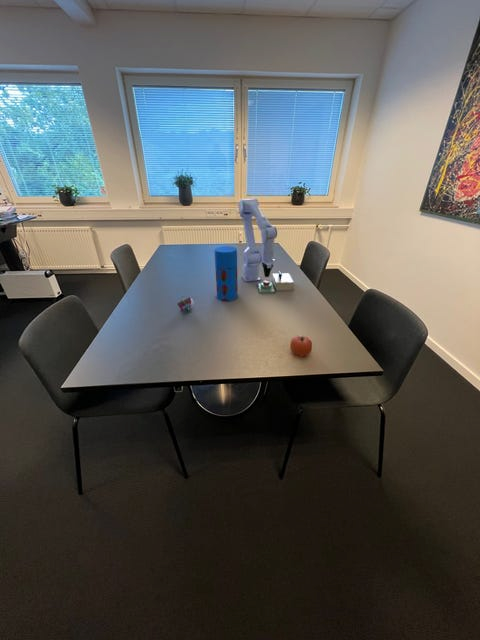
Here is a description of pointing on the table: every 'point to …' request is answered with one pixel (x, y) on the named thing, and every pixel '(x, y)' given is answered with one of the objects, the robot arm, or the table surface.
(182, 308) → the geometric puzzle
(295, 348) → the red apple
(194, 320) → the table surface
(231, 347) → the table surface
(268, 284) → the button
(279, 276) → the lid
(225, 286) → the thermos
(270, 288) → the control pad
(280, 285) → the beige open box
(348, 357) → the table surface
